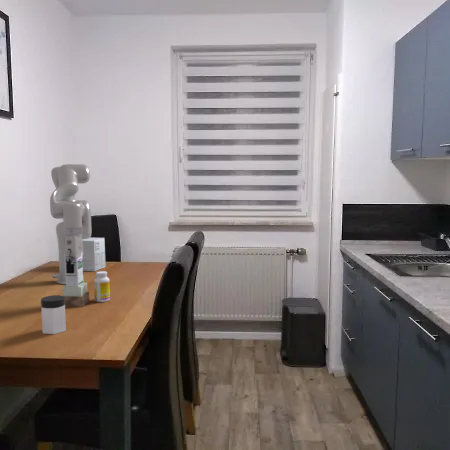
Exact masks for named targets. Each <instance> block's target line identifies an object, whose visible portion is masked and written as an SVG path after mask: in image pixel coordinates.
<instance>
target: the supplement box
mask: <svg viewBox="0 0 450 450" xmlns="http://www.w3.org/2000/svg"><path fill="white" fill-rule="evenodd" d="M82 241H83V256H82V257H83V272H98V271H100V270H102V269H104V268H106V246H105V244H106V243H105V241H106V239H105V237H90V238H88V239H82Z"/></svg>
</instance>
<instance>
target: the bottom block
mask: <svg viewBox="0 0 450 450" xmlns="http://www.w3.org/2000/svg"><path fill="white" fill-rule="evenodd" d="M64 297H65V308H66V307H68V308H69V307H76V308H77V307H80V308H81V307H84V306H86V304H87V303H88V302H89V301H90V291H87V292H86V293H85V294H84V295H83V296H64Z"/></svg>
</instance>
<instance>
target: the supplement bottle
mask: <svg viewBox="0 0 450 450" xmlns="http://www.w3.org/2000/svg"><path fill="white" fill-rule="evenodd" d="M95 272H96V273H95V276H96V277H95V278H94V279H93V280H94V281H93V284H94V285H93V286H94V287H93V288H94V290H93V291H94V301H95V302H97V303H105V302H108V301H110V300H111V286H110V285H111V283H110V282H111V281H110V280H111V279H110V278H109V277H108V276H107V275H108V271H106V270H105V271H104V270H102V271H101V270H98V271H95Z"/></svg>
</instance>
